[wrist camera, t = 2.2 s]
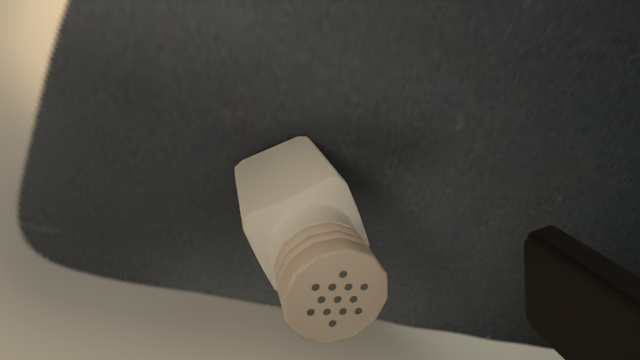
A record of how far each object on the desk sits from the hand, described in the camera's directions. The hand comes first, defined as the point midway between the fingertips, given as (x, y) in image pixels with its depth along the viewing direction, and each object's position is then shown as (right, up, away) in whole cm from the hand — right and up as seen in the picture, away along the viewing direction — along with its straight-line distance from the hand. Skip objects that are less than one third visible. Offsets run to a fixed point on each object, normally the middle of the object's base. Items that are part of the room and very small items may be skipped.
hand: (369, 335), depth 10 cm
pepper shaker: (-3, +4, +10) cm, 11 cm away
